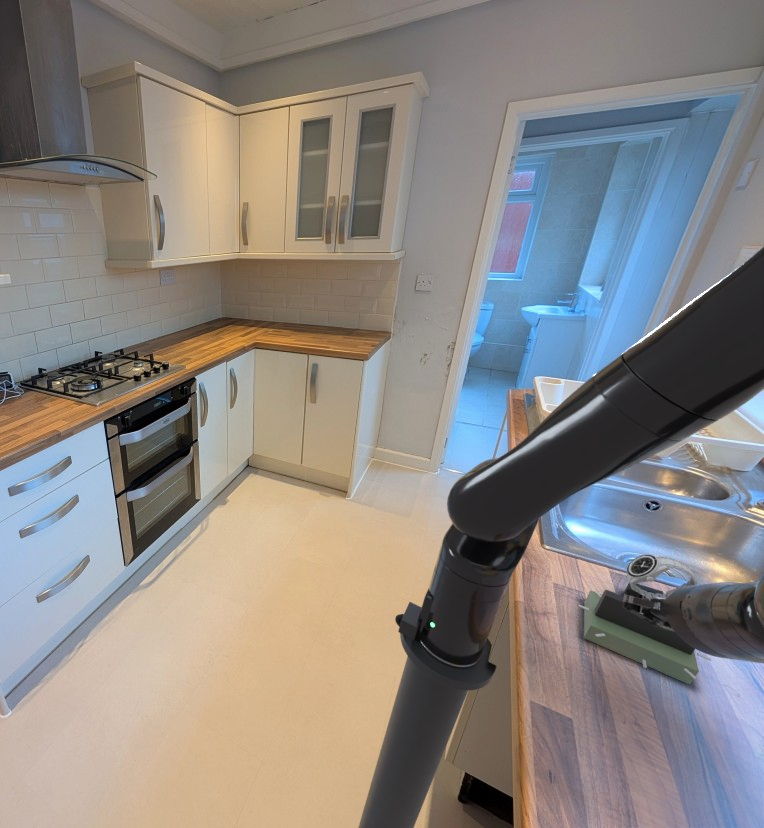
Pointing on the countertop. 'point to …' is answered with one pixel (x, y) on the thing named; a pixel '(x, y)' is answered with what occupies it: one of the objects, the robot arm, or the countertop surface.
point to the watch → (654, 574)
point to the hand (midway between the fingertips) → (656, 619)
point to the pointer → (636, 622)
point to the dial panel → (637, 645)
